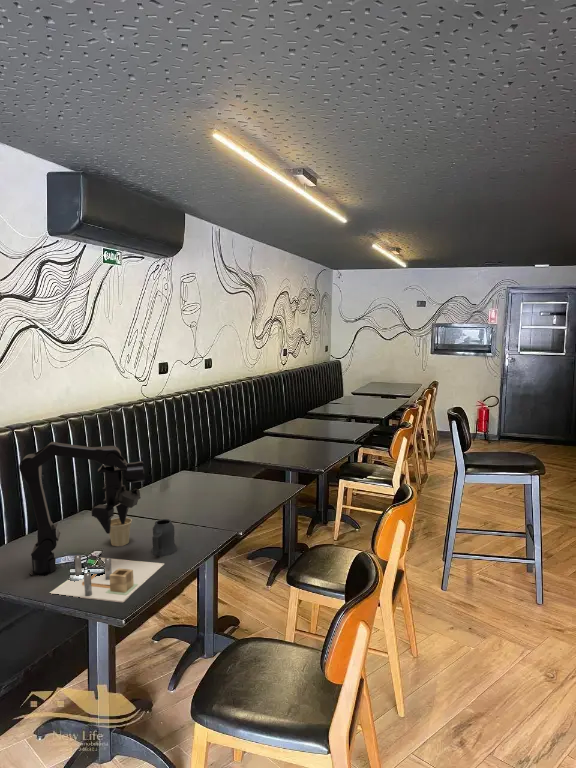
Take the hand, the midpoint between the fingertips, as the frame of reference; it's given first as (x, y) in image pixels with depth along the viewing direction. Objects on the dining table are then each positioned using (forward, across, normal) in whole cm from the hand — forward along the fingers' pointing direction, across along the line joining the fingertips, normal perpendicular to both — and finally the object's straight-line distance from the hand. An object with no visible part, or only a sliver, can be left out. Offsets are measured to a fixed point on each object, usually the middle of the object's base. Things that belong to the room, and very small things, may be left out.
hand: (115, 528), depth 188 cm
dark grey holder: (+12, +10, -12) cm, 20 cm away
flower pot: (+12, +15, +8) cm, 21 cm away
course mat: (+12, -12, -4) cm, 18 cm away
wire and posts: (+12, -16, -1) cm, 20 cm away
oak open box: (+11, -18, -12) cm, 25 cm away
